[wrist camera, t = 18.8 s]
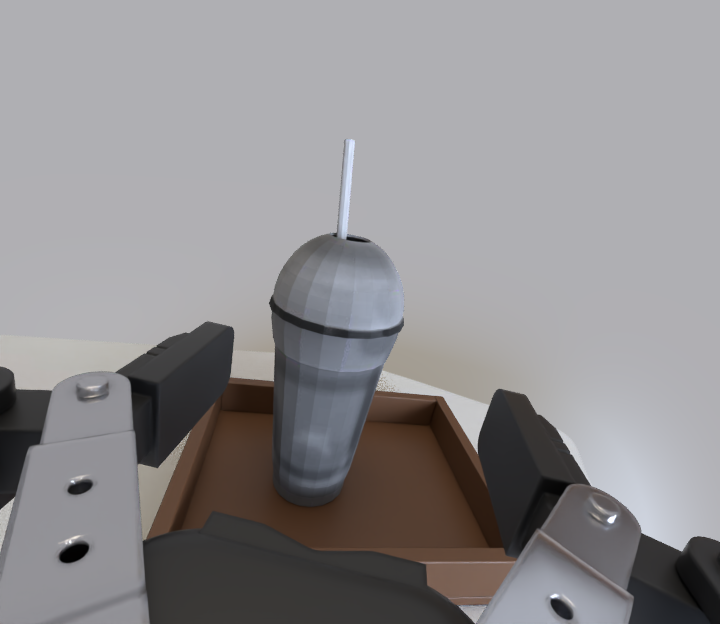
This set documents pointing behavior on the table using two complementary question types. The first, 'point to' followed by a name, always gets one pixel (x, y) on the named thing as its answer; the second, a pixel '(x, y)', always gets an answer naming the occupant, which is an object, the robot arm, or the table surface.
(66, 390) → the robot arm
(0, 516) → the table surface
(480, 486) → the tray
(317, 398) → the beverage cup
